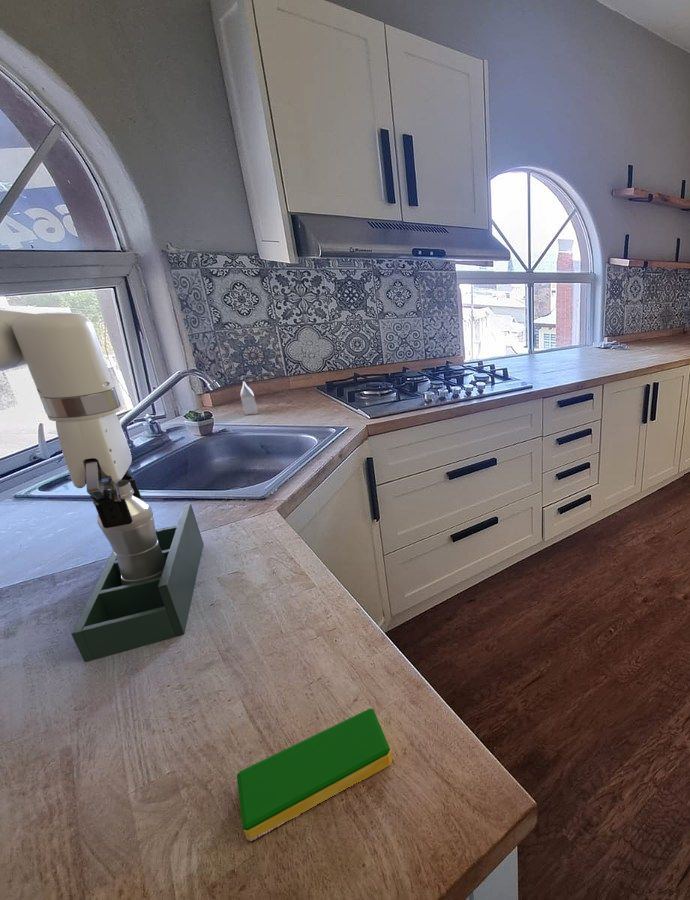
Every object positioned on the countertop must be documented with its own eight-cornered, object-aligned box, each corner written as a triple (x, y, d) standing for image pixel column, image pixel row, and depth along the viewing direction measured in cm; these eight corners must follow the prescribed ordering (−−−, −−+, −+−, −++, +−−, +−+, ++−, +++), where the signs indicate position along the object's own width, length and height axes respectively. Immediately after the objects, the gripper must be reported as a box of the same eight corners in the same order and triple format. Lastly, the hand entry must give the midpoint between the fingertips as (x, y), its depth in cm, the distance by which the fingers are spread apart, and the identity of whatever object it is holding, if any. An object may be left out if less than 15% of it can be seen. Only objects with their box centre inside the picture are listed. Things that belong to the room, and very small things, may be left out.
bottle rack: (84, 662, 69) (59, 610, 66) (128, 559, 91) (112, 516, 88) (184, 634, 75) (166, 584, 71) (203, 544, 97) (190, 502, 93)
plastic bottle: (168, 576, 87) (131, 472, 80) (186, 590, 84) (149, 482, 76) (120, 596, 82) (76, 486, 74) (138, 611, 79) (94, 498, 71)
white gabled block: (256, 408, 174) (250, 380, 170) (258, 413, 169) (251, 384, 165) (244, 409, 172) (237, 381, 168) (245, 415, 167) (237, 386, 163)
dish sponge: (241, 787, 54) (236, 772, 53) (375, 720, 62) (372, 706, 61) (248, 845, 49) (242, 829, 48) (393, 764, 57) (390, 749, 56)
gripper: (66, 391, 75) (106, 497, 82) (21, 425, 62) (74, 548, 69) (131, 386, 79) (164, 487, 86) (102, 417, 66) (145, 534, 72)
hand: (124, 513), depth 77 cm, fingers closed on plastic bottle, 6 cm apart
